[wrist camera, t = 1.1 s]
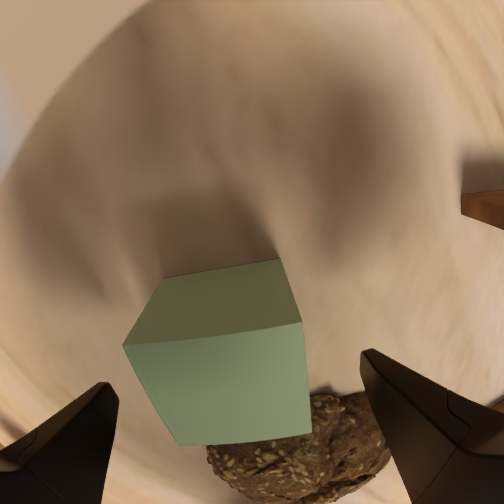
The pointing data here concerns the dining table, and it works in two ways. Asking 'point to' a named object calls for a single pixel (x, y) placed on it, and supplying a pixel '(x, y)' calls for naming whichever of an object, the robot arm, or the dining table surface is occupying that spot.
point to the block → (224, 356)
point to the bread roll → (309, 456)
